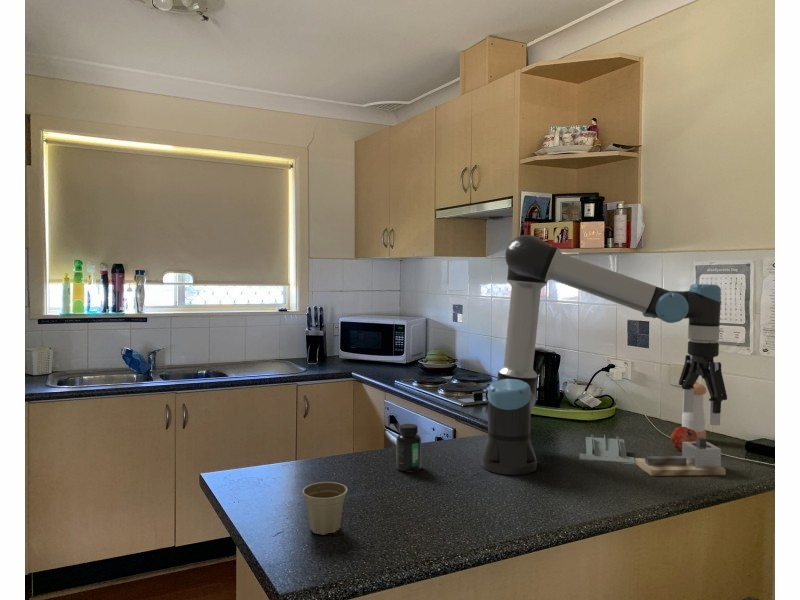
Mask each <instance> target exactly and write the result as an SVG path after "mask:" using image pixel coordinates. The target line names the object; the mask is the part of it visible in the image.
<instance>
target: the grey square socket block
mask: <svg viewBox="0 0 800 600" xmlns="http://www.w3.org/2000/svg"><path fill="white" fill-rule="evenodd" d="M681 456H684V457H685V458H687V459H686V462H687V463H688V464H690V465H691V466H693V467H695V468H719V467H722V449H721V448H720V447H719V446H716V445H714V444H712V443H711V442H708V441H706V448H698V447H696V442H682V451H681Z"/></svg>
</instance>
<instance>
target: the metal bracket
mask: <svg viewBox="0 0 800 600" xmlns="http://www.w3.org/2000/svg"><path fill="white" fill-rule="evenodd" d="M603 435H604V436H603V437H594V434H591V435H590V436H586V437H585V451H586V452H585V453H581V452H580V453H579V455H578V456H579V460H581V461H590V462H591V461H595V462H607V463H619V464H628V465H629V464H630V465H636V464H635V457H633V456H627V451H626V444H625V439H623V438H620V436H619V435H618V436H617V435H616V438H611V437H610V438H607V437H606V434H603Z"/></svg>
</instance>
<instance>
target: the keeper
mask: <svg viewBox="0 0 800 600" xmlns="http://www.w3.org/2000/svg"><path fill="white" fill-rule="evenodd" d="M706 442H707V438H706V439H705V438H703V437H696V447H698V448H706ZM634 459H635V464H634V465H637V466H638V467H639V468H640V469H642V470H643V471H644V472H646V473H647V474H648V475H650V476H651V477H653V476H654V477H657V476H658V477H659V476H661V477H662V476H666V477H667V476H726V473H727V472H726V471H727V470H726V468H725V467H723V466H721V467H719V468H695V467H693V466H691V465H690V464H688V463H687V462H686V459H687V458H685V457H684V456H682V455H670V456H669V455H658V456H656V455H654V456H653V455H651V456H650V455H649V456H648V455H647V456H644V457H643V458H640V457H634Z"/></svg>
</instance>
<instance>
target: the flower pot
mask: <svg viewBox="0 0 800 600" xmlns="http://www.w3.org/2000/svg"><path fill="white" fill-rule="evenodd" d="M348 490H349V489H348V487H347V486H346V485H345V484H342V483H339V482H335V481H334V482H333V481H322V482H315V483H311V484H309V485H306V486H305V487H304V488H303V489H302V494H303V496H304V501H305V502H306V507H307V516H308V521H309V522H308V523H309V529H311V530H313V531H315V532H318V533H332V532H335V531H336V530H338V529H339V528H340V529H341V523H342V522H341V521H342V513H343V506H344V501H345V498H346V494H347V493H348ZM340 529H339V530H340ZM311 530H310V531H311Z"/></svg>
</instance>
